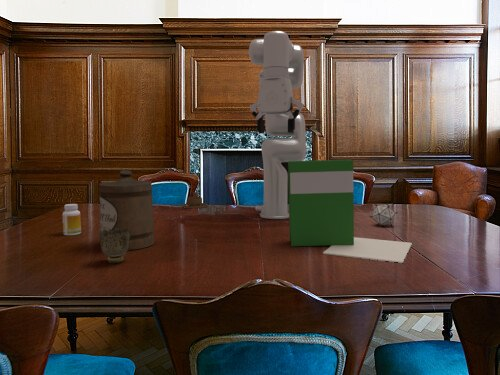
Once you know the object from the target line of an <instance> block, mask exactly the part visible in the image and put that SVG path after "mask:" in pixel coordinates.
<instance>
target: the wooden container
mask: <svg viewBox="0 0 500 375" xmlns="http://www.w3.org/2000/svg"><path fill="white" fill-rule="evenodd" d="M132 175H133V173H132V171H131V170H129V169H125V168H124V169H121V171H119V176H120V177H119V178H118V179H117V180H116V181H108V182H106V181H105V182H101V183H99V184H98V191H99V193H98V194H99V217H100V218H99V220H100V221H99V223H100V225H99V226H100V231H102V230H103V229H105V230H107V231H108V230H109V228H110V229H111V231H113V229H114V228H116V229H118V228H120V229H121V231H122V229H123V228H124V229H125V230H126V229H127V228H128V229H129V230H130V238H129V247H128V250H127V251H134V250H135V251H136V250H143V249H146V248H148V247H151V246H153V245H154V244H155V228H154V227H155V226H154V225H155V221H154V209H153V208H154V207H153V206H154V205H153V204H154V203H153V190H152V189H153V187H152V186H153V184H152V181H144V180H142V181H141V180H135V179H133V178H132Z"/></svg>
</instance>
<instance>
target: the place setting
mask: <svg viewBox="0 0 500 375" xmlns="http://www.w3.org/2000/svg"><path fill="white" fill-rule="evenodd" d="M198 193H199V192H198V191H193V192H192V196H190V197H187V198H186V200H187V201H186V203H183V204H181V207H182V206H183V207H187V208H186V209H188V208H199V209H206V208H207V209H210V208H211V207H212V208H214V205H210V206H208V204H207V203H205V202H203V198H202V197H199V194H198ZM186 205H189V206H186ZM201 205H204V206H201ZM183 207H182V208H183Z"/></svg>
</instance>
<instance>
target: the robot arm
mask: <svg viewBox="0 0 500 375" xmlns="http://www.w3.org/2000/svg"><path fill="white" fill-rule="evenodd" d="M248 56H249V60H250V62H251V63H252V65H254V66H260V67H261V66H262V67H263V69H261V71H260V72H259V75H258V82H259V89H258V96H257V97H258V99H257V101H256V102H253V104H250V105H249V110H250V112H251V114H252V116H253V117H254V118H255V120H256V121H257V123H256V125H257V126H256V128H257V129H256V130H257V132H258V134H264V133H265V131H266V134H267V135H268V136H271V137H270V138H266V139H265V140H263V141H262V143H261V154H262V155H261V156H262V164H263V204H262V205H255V211H257V212H258V211H259V212H260V213H259V217H260V218H263V219H268V220H269V219H270V220H282V219H283V220H285V219H289V211H288V183H289V182H288V171H287V169H286V168H285V167H284V166H283V165H282V163H288V161H305V158H306V153H307V144H306V143H307V142H306V133H307V132H306V119H305V117H304V115H303V114H302V113H301V112H302V110H303V108H304V106H305V104H304V103H303V102H301V101H299V100H297V99H295V98H294V94H293V90H298V89H299V88H301V86H302V85H303V79H304V67H305V55H304V49H303V47H301V45H300V44H293V42H292V41H291V40H290V39H289V35H288V34H287V32H285V31H281V30H272V31H268V32H266V33H265V34H264V36H263V38H256V39H252V40H251V42H250V44H249V48H248ZM294 105H296V109H295V110H294ZM264 118H265V120H264Z"/></svg>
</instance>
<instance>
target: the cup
mask: <svg viewBox="0 0 500 375" xmlns="http://www.w3.org/2000/svg"><path fill="white" fill-rule="evenodd" d="M98 238H99V239H98V240H99V243H100V249H101V252H102V254H103V255H104V256H106V257H107V262H109V264H117V263H118V264H119V263H122V262H123V260H124V255H126V253H128V251H129V250H128V247H129V238H130V230H129V229H128V228H127V229H126V230H125V229H124V228H123V229H122V231H121V229H120V228H118V229H116V228H114V229H113V231H111V229H110V228H109V230H108V231H107V230H105V229H103V230H102V231H101V230H99V231H98Z"/></svg>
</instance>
